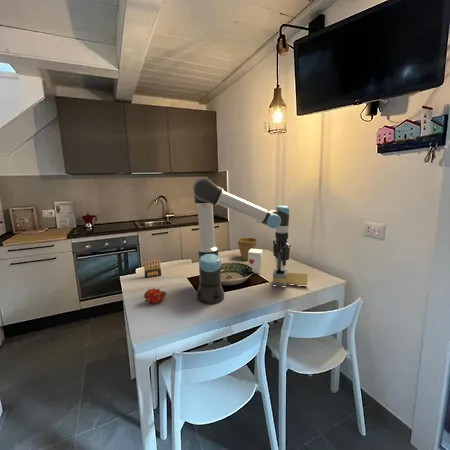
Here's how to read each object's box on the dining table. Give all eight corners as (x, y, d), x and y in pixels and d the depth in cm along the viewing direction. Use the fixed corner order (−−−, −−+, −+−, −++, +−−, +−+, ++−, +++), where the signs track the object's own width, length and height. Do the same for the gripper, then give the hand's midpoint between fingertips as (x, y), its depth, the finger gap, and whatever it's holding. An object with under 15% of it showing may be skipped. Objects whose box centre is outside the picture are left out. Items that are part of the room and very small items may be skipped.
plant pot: (247, 255, 222) (247, 236, 219) (260, 259, 211) (260, 239, 208) (233, 258, 213) (233, 239, 210) (246, 263, 202) (247, 243, 198)
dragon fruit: (142, 306, 141) (165, 305, 146) (144, 303, 134) (168, 302, 139) (142, 290, 145) (165, 289, 149) (144, 286, 138) (167, 286, 142)
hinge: (306, 289, 157) (307, 276, 156) (272, 286, 162) (273, 273, 161) (305, 276, 176) (306, 265, 175) (275, 274, 181) (275, 262, 180)
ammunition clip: (160, 274, 180) (160, 257, 178) (161, 275, 178) (160, 258, 176) (144, 277, 176) (143, 260, 173) (145, 278, 174) (143, 261, 172)
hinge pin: (283, 276, 162) (284, 252, 159) (277, 276, 163) (277, 252, 160) (283, 274, 165) (284, 251, 162) (277, 273, 166) (278, 250, 163)
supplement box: (247, 272, 184) (247, 251, 181) (250, 268, 192) (250, 248, 189) (260, 274, 181) (260, 253, 178) (262, 269, 190) (263, 249, 187)
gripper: (296, 233, 153) (294, 272, 158) (277, 228, 167) (276, 264, 172) (287, 235, 150) (285, 274, 154) (268, 230, 164) (266, 266, 168)
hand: (280, 269), depth 163 cm, fingers closed on hinge pin, 3 cm apart
